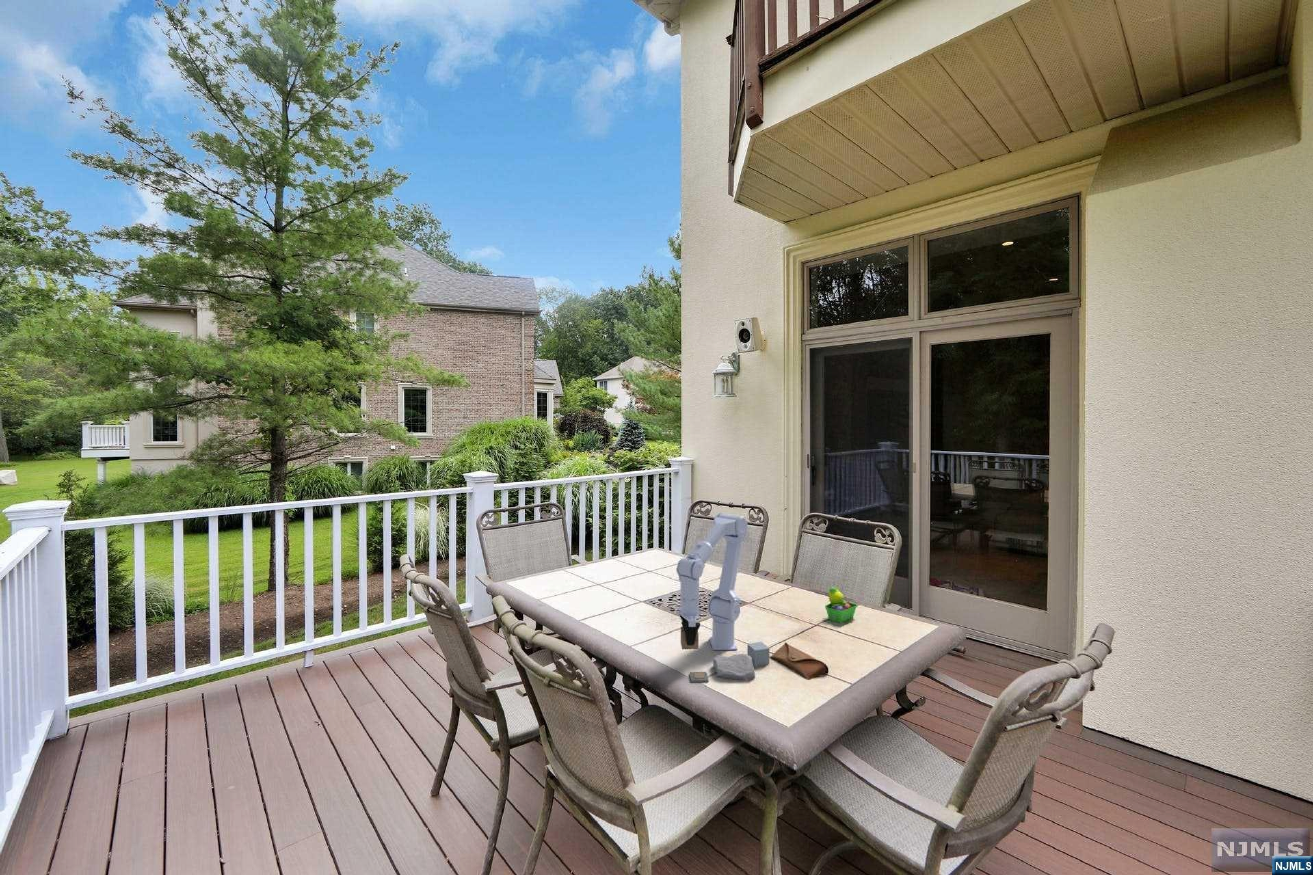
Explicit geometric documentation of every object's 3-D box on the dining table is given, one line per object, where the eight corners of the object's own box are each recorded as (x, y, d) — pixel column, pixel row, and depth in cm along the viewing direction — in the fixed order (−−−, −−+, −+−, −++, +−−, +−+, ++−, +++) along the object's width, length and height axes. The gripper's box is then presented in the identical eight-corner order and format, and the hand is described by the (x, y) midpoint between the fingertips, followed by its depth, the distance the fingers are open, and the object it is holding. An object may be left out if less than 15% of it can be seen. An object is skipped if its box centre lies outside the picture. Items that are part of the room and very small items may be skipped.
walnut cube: (680, 642, 163) (680, 626, 163) (696, 641, 163) (696, 626, 163) (682, 649, 158) (682, 633, 158) (698, 648, 158) (698, 632, 158)
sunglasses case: (766, 656, 167) (774, 636, 169) (779, 663, 170) (787, 643, 172) (809, 680, 152) (817, 658, 153) (823, 687, 155) (831, 665, 156)
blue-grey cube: (747, 659, 166) (747, 643, 165) (761, 657, 167) (761, 641, 167) (754, 666, 161) (755, 650, 161) (769, 663, 162) (769, 648, 162)
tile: (689, 673, 156) (689, 671, 156) (706, 673, 156) (706, 671, 156) (691, 682, 151) (691, 679, 151) (708, 681, 151) (708, 679, 151)
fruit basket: (841, 625, 194) (842, 594, 193) (821, 618, 200) (821, 589, 200) (858, 617, 201) (858, 588, 200) (837, 611, 208) (837, 583, 207)
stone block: (757, 686, 152) (750, 663, 162) (758, 671, 151) (750, 650, 161) (717, 688, 152) (712, 665, 162) (717, 673, 151) (712, 651, 161)
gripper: (674, 589, 167) (674, 631, 168) (678, 605, 153) (678, 651, 153) (696, 589, 168) (696, 630, 168) (702, 605, 153) (702, 650, 154)
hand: (689, 640), depth 161 cm, fingers closed on walnut cube, 5 cm apart
